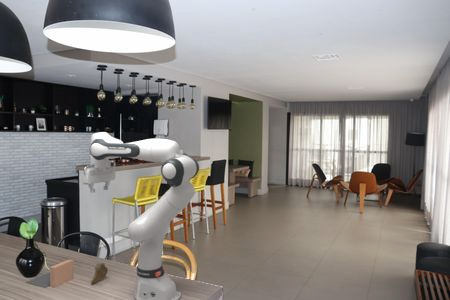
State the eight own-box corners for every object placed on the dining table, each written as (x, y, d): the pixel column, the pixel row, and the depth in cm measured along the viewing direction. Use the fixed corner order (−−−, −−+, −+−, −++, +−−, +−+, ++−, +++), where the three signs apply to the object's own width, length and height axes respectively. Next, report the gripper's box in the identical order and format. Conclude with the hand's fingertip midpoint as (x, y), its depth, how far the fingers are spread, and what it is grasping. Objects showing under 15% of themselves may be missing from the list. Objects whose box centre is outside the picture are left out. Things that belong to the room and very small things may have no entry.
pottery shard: (93, 286, 181) (93, 266, 180) (87, 284, 183) (87, 265, 182) (109, 278, 190) (110, 260, 190) (104, 277, 192) (104, 258, 192)
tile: (73, 278, 189) (73, 260, 189) (54, 287, 178) (54, 268, 178) (69, 277, 191) (68, 259, 190) (50, 286, 180) (49, 267, 179)
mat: (70, 276, 193) (70, 275, 193) (45, 287, 178) (45, 287, 178) (51, 271, 198) (51, 271, 198) (25, 282, 184) (25, 282, 184)
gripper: (89, 166, 171) (89, 194, 172) (117, 162, 190) (117, 188, 191) (79, 165, 174) (79, 193, 174) (108, 162, 192) (108, 187, 193)
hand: (99, 191), depth 183 cm, fingers open, 8 cm apart
